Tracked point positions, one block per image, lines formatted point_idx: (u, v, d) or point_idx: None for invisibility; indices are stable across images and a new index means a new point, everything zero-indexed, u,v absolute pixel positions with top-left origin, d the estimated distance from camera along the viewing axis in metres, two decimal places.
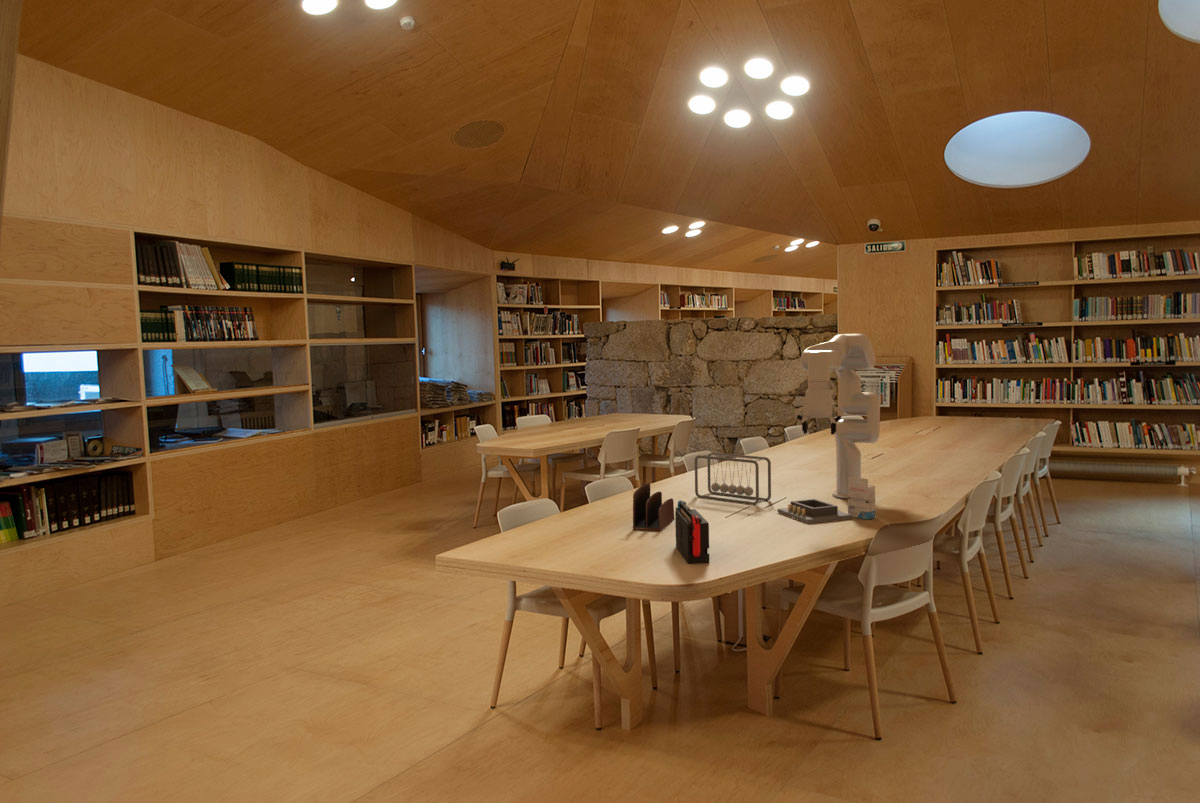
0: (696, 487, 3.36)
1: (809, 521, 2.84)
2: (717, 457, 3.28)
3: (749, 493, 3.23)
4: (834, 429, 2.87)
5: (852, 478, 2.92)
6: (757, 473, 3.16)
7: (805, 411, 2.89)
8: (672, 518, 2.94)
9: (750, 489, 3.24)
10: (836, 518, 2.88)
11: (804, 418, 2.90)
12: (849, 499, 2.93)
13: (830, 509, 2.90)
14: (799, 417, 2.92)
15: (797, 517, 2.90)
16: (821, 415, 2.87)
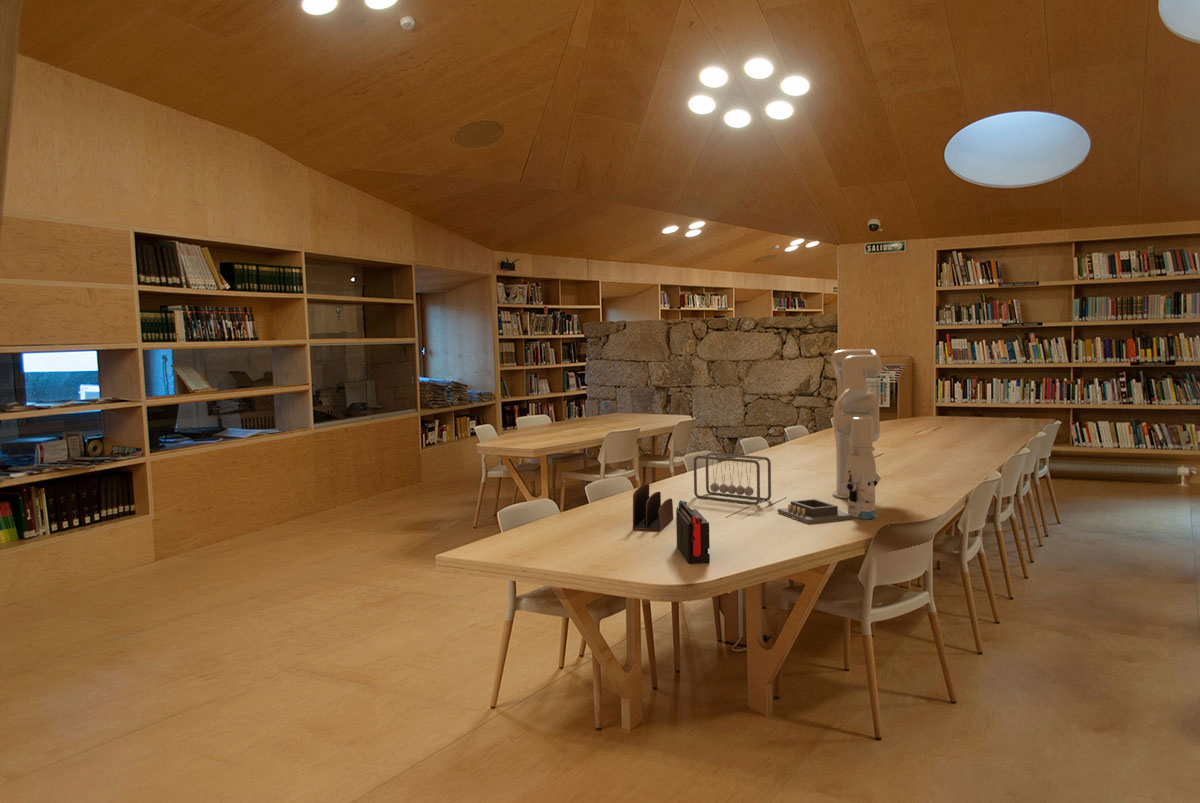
0: (695, 487, 3.35)
1: (809, 521, 2.84)
2: (717, 457, 3.27)
3: (749, 493, 3.24)
4: None
5: None
6: (758, 473, 3.16)
7: (854, 477, 2.88)
8: (671, 518, 2.94)
9: (750, 489, 3.24)
10: (836, 518, 2.88)
11: (855, 486, 2.89)
12: (849, 499, 2.93)
13: (830, 509, 2.90)
14: (850, 486, 2.89)
15: (797, 517, 2.90)
16: (868, 480, 2.90)
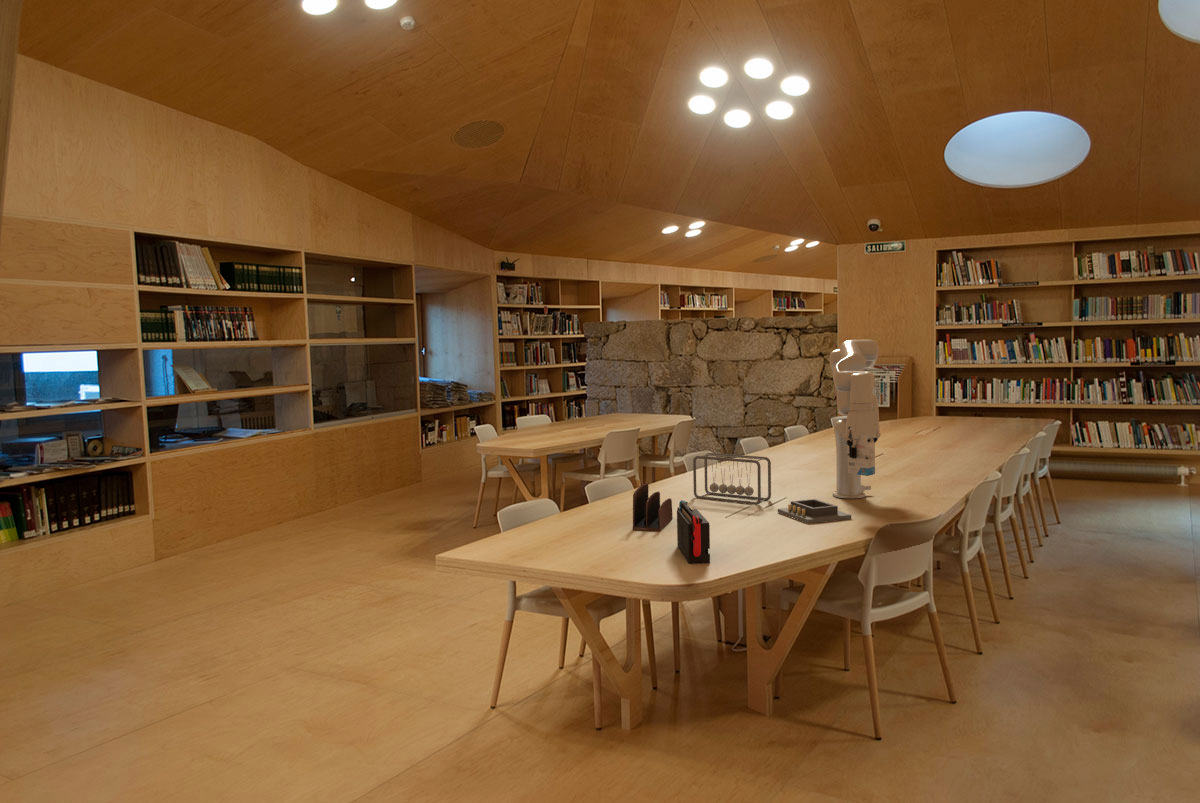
0: (695, 488, 3.34)
1: (809, 521, 2.84)
2: (717, 457, 3.27)
3: (750, 493, 3.24)
4: None
5: None
6: (759, 473, 3.16)
7: (854, 434, 2.87)
8: (671, 518, 2.95)
9: (751, 489, 3.24)
10: (836, 518, 2.88)
11: (855, 443, 2.88)
12: (849, 456, 2.92)
13: (830, 509, 2.90)
14: (849, 442, 2.88)
15: (797, 517, 2.90)
16: (868, 436, 2.89)
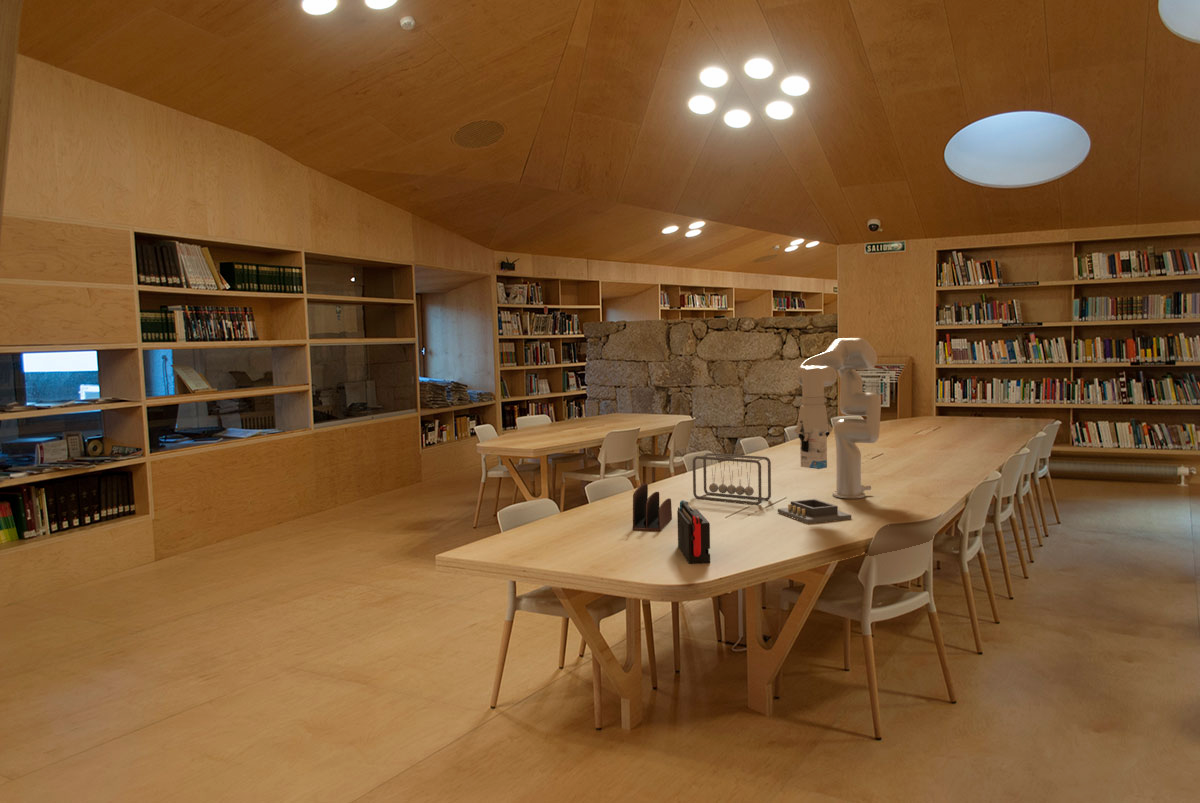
0: (694, 488, 3.34)
1: (809, 521, 2.84)
2: (717, 457, 3.27)
3: (750, 493, 3.24)
4: None
5: None
6: (760, 473, 3.16)
7: (806, 427, 2.91)
8: (670, 518, 2.95)
9: (751, 489, 3.24)
10: (836, 518, 2.88)
11: (807, 436, 2.92)
12: (801, 449, 2.96)
13: (830, 509, 2.90)
14: (801, 436, 2.92)
15: (797, 517, 2.90)
16: (819, 430, 2.93)
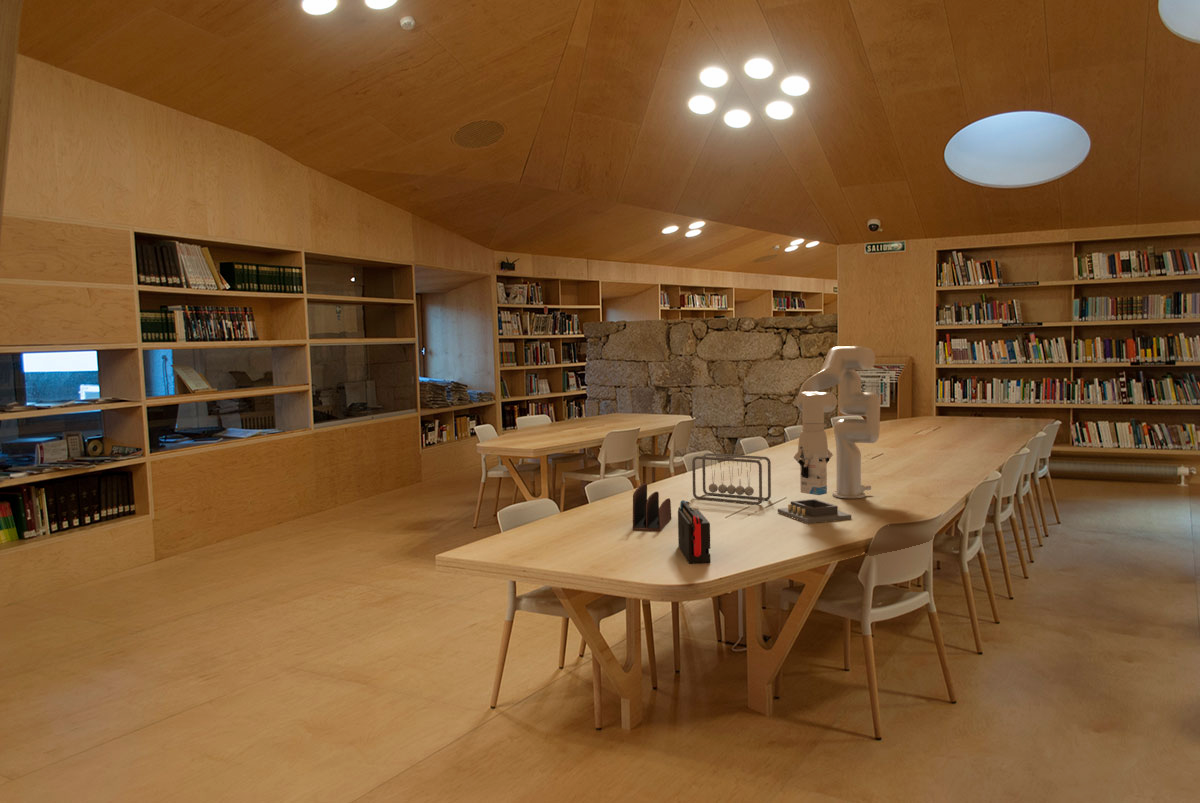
0: (694, 488, 3.33)
1: (809, 521, 2.84)
2: (717, 458, 3.26)
3: (750, 493, 3.24)
4: None
5: None
6: (761, 473, 3.17)
7: (806, 453, 2.91)
8: (669, 518, 2.95)
9: (751, 489, 3.24)
10: (836, 518, 2.88)
11: (807, 462, 2.93)
12: (801, 475, 2.96)
13: (830, 509, 2.90)
14: (801, 462, 2.92)
15: (797, 517, 2.90)
16: (819, 456, 2.93)
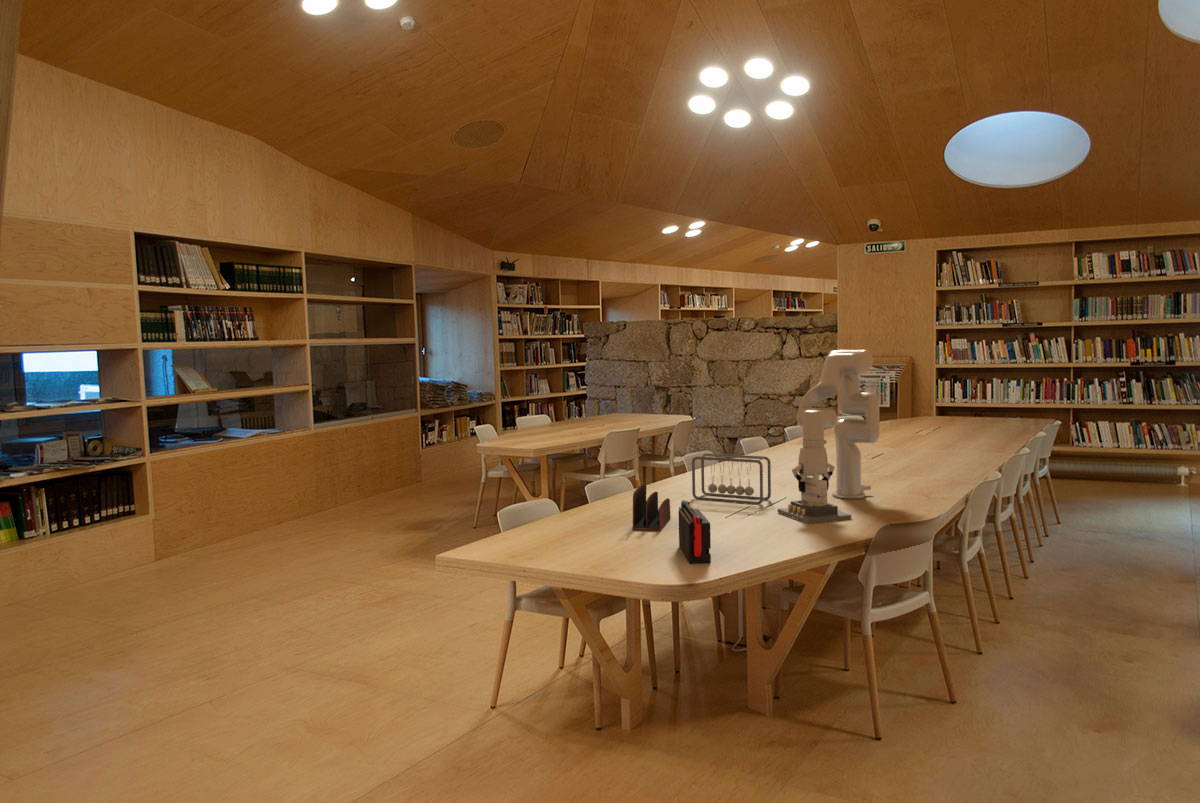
0: (694, 489, 3.32)
1: (809, 521, 2.84)
2: (717, 458, 3.26)
3: (750, 493, 3.24)
4: None
5: None
6: (761, 473, 3.17)
7: (806, 470, 2.92)
8: (669, 518, 2.95)
9: (751, 489, 3.24)
10: (836, 518, 2.88)
11: (804, 477, 2.93)
12: (802, 494, 2.98)
13: (830, 509, 2.90)
14: (798, 476, 2.92)
15: (797, 517, 2.90)
16: (819, 472, 2.94)
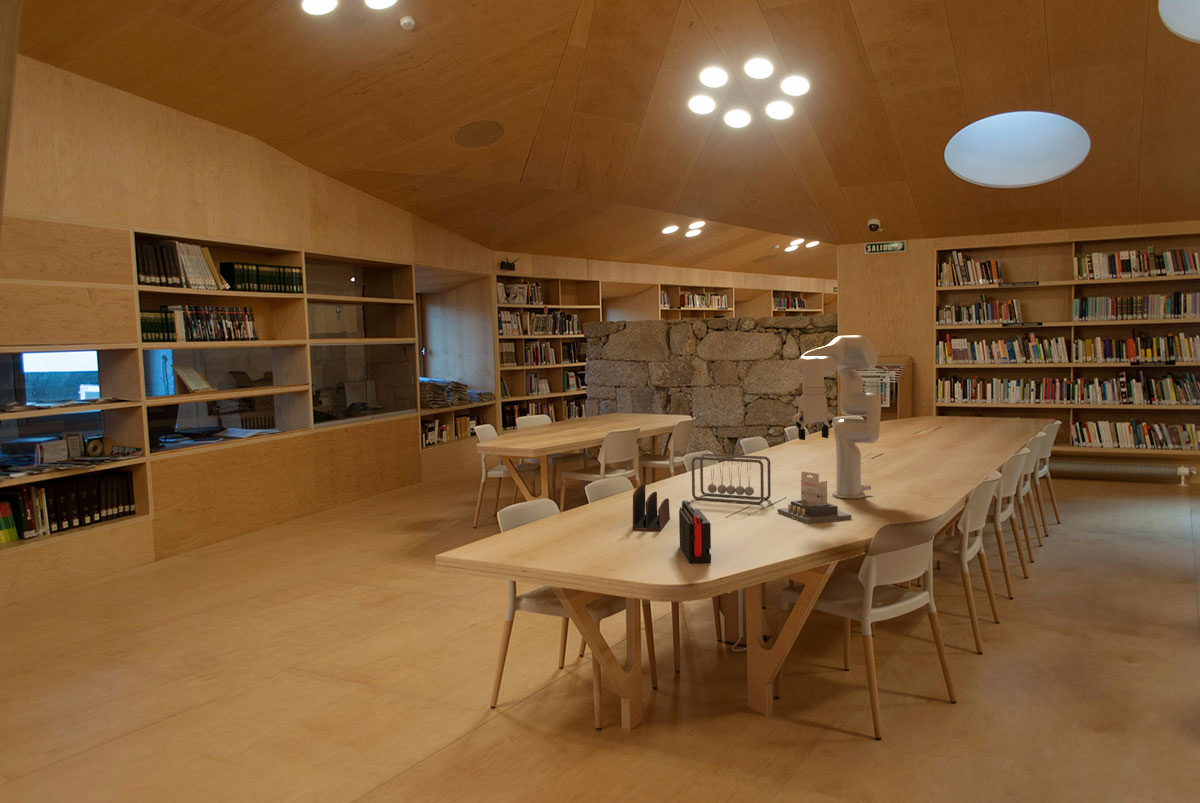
0: (693, 489, 3.31)
1: (809, 521, 2.84)
2: (717, 458, 3.25)
3: (751, 493, 3.24)
4: None
5: (805, 473, 2.96)
6: (762, 472, 3.17)
7: (806, 417, 2.91)
8: (668, 518, 2.95)
9: (751, 489, 3.24)
10: (836, 518, 2.88)
11: (803, 424, 2.92)
12: (802, 494, 2.98)
13: (830, 509, 2.90)
14: (798, 424, 2.92)
15: (797, 517, 2.90)
16: (819, 420, 2.93)
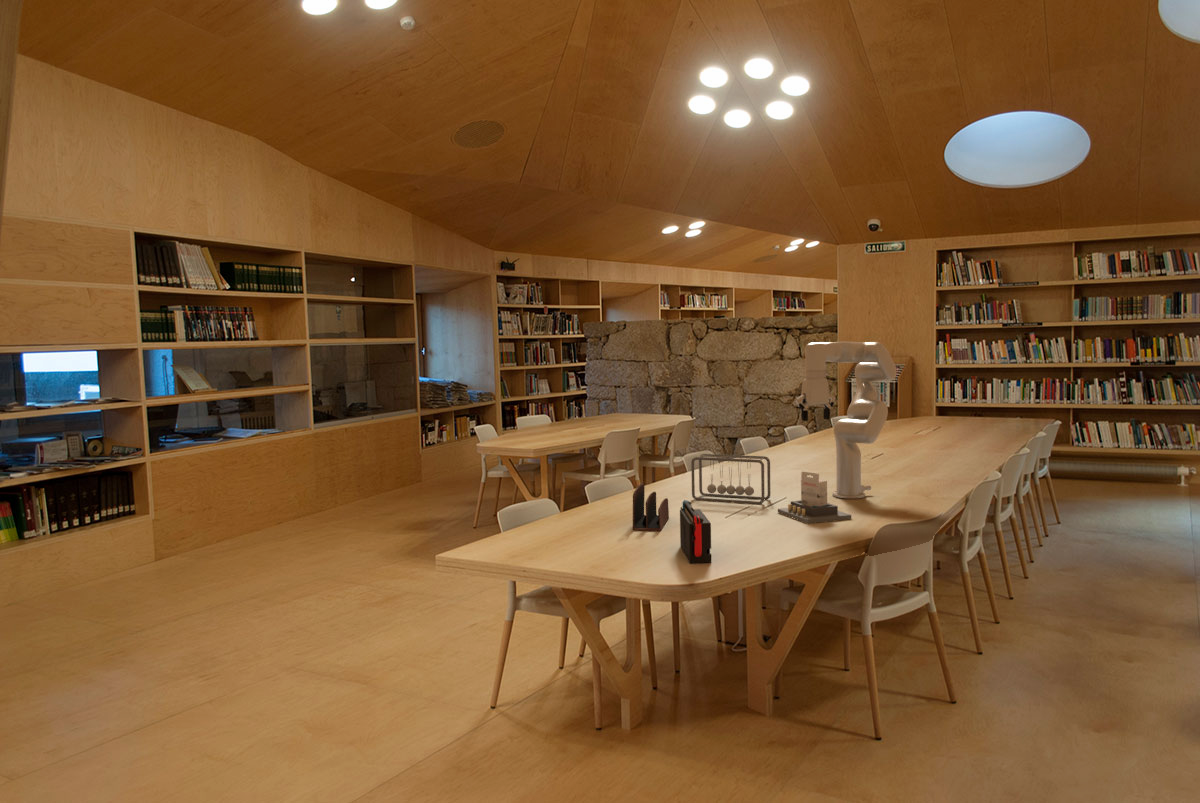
0: (693, 489, 3.31)
1: (809, 521, 2.84)
2: (718, 458, 3.25)
3: (751, 493, 3.24)
4: None
5: (805, 473, 2.96)
6: (763, 472, 3.17)
7: (808, 399, 3.08)
8: (667, 518, 2.95)
9: (752, 489, 3.24)
10: (836, 518, 2.88)
11: (806, 406, 3.08)
12: (802, 494, 2.98)
13: (830, 509, 2.90)
14: (801, 406, 3.08)
15: (797, 517, 2.90)
16: (821, 402, 3.10)
